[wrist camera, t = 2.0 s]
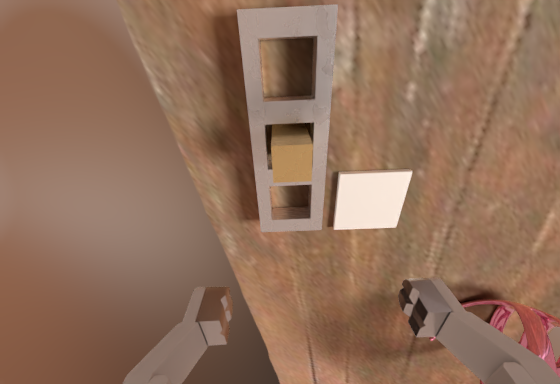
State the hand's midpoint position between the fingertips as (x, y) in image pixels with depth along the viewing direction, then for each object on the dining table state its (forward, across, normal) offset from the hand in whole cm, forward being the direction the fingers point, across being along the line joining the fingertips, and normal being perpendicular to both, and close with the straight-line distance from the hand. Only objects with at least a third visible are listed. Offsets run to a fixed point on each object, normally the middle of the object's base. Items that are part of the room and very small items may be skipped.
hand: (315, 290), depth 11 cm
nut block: (+22, 0, -1) cm, 22 cm away
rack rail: (+22, 0, -1) cm, 22 cm away
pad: (+22, -12, +9) cm, 27 cm away
